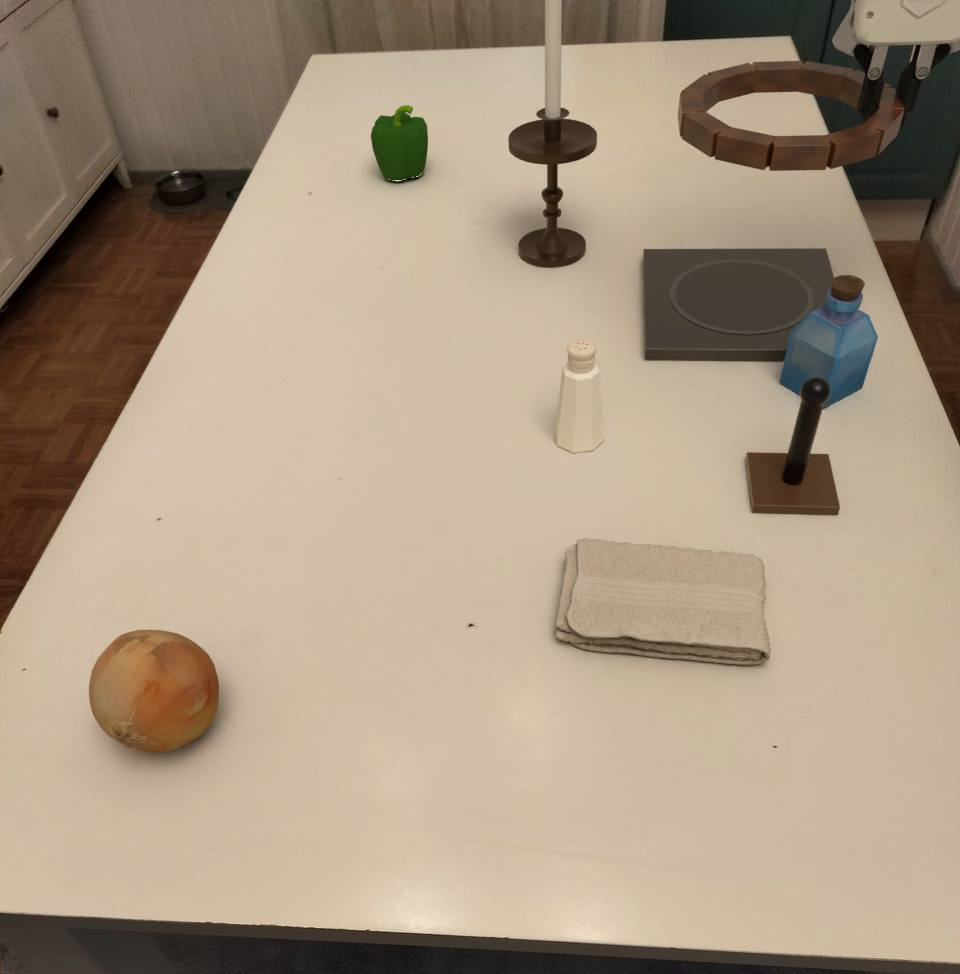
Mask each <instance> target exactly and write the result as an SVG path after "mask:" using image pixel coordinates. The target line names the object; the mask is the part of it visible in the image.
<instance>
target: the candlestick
mask: <svg viewBox="0 0 960 974" xmlns="http://www.w3.org/2000/svg"><path fill="white" fill-rule="evenodd" d="M562 14H563V0H544V108H543V107H542V108H541V109H538V111H536V113H535V116H536V117H537V118H539V119H537V120H532V121H529V122H525V123H522V124H521V125H519V126H517V127H515V128H514V129H512V131H510V133H509V135H508V137H507V138H508V139H507V141H508V142H507V143H508V152H509V153H510V154H511V155H512V156H513V157H514V158H516V159H518V160H520V161H521V162H522V161H523V162H525V163H530V164H534V165H546V187H545V188H544V189H542V191H541V198H542V200H543V202H544V203H545V204H546V206H545V207H546V208H544V209H543V210H542V216H543V217H544V218H546V227H544V228H538V229H535V230H532V231H530V232H527V233H526V234H524V235H523V236H522V237H520V239H519V241H518V244H517V249H518V250H517V251H518V256H519V257H520V259H521V260H522V261H524V262H525V263H526V264H529V265H531V266H534V267H540V268H561V267H567V266H569V265H572V264H574V263H577V262H578V261H580V260H582V258H583V257H584V256H585V255H586V251H587V241H586V239H585V237H584V235H582V234H581V233H579V232H577V231H575V230H573V229H570V228H565V227H558V219H559V218H560V217H561V216H562V214H563V213H562V212H563V211H562V209H561V208H559V203H560V202H561V201H562V199H563V196H564V190H563V189H562V188H561V187H559V185H558V183H559V181H558V180H559V165H562V164H564V165H565V164H569V163H573V162H578V161H580V160H582V159H584V158H587V157H588V156H590V155H591V154H592V153H594V152H595V150H596V149H597V145H598V132H597V131H596V129H595V128H594V127H593V126H591V125H590V124H588V123H587V122H584V121H580V120H577V119H571V118H567V117H568V116H569V115H570V111H569V110H568V109H567V108H564V107H562V106H561V105H562V103H561V102H562V91H561V90H562V25H563V24H562V17H563V15H562Z"/></svg>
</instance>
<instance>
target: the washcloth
mask: <svg viewBox="0 0 960 974" xmlns="http://www.w3.org/2000/svg"><path fill="white" fill-rule="evenodd" d="M564 555H565V560H566V561H565V562H566V563H565V571H564V576H563V581H562V586H561V594H560V598H559V604H558V611H557V617H556V621H555V628H556V631H555V638H556V639H557V640H559V641H563V642H569V643H570V644H571V645H573V646H574V647H577V648H579V649H582V650H585V651H586V650H587V651H592V652H600V653H612V654H613V653H614V654H615V653H617V654H623V653H627V654H631V655H636V656H637V655H638V656H643V657H644V656H645V657H652V658H658V659H659V658H660V659H671V660H689V661H690V660H691V661H699V662H706V663H717V664H729V665H740V666H742V665H743V666H748V665H749V666H750V665H751V666H752V665H753V666H754V665H761V664H764V663H766V662H767V661H769V660H770V658H771V652H772V649H771V647H770V645H771V642H770V636H769V630H768V628H767V623H766V621H765V611H764V604H765V601H766V600H767V598H766V596H767V595H766V592H767V591H766V588H767V583H766V575H765V563H764V561H763V559H762V558H761V557H759V556H757V555H754V554H753V553H749V554H745V553H740V552H734V551H733V552H729V551H727V552H726V551H712V550H711V549H710V550H706V549H696V548H691V547H681V546H679V547H678V546H675V545H673V546H666V545H662V544H653V545H652V544H651V543H647V544H644V543H630V542H616V541H612V540H605V539H597V538H595V539H590V538H587V537H586V538H583V539H577V540H576V543H575V544H573V545H571V546H570V547H568V548H566V550H565V552H564Z"/></svg>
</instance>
